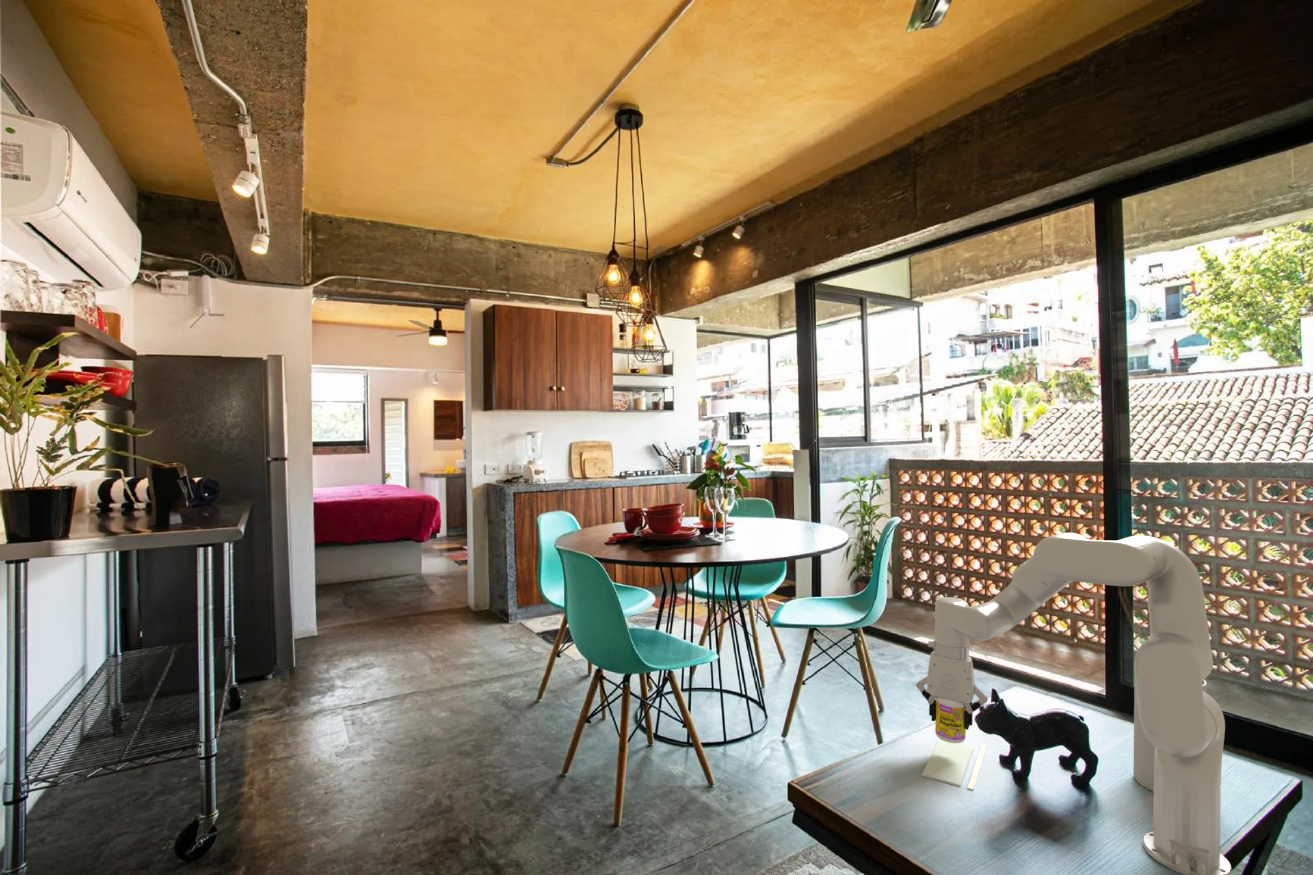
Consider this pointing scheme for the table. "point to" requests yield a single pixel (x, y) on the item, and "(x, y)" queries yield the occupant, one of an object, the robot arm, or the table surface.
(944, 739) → the supplement bottle
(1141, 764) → the cylinder vase
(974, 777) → the beige wooden stick
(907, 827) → the table surface
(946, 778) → the mat
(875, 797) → the table surface
